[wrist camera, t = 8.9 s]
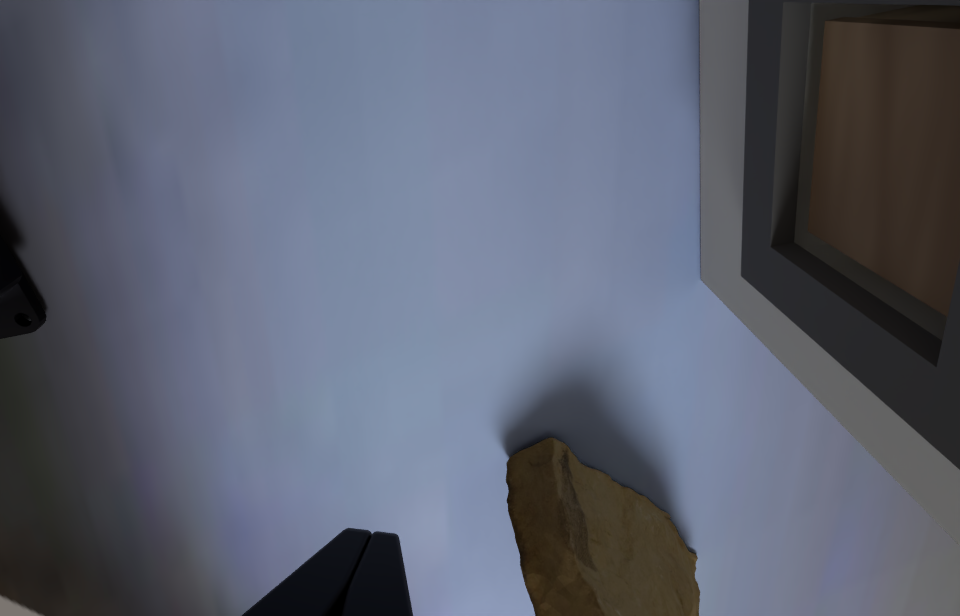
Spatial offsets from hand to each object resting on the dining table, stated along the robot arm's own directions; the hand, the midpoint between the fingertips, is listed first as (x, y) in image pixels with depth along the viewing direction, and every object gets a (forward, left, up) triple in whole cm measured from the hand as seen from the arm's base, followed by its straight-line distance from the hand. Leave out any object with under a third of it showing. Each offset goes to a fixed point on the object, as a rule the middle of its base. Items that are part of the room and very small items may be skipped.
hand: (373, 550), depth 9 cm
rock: (+6, -14, -13) cm, 20 cm away
